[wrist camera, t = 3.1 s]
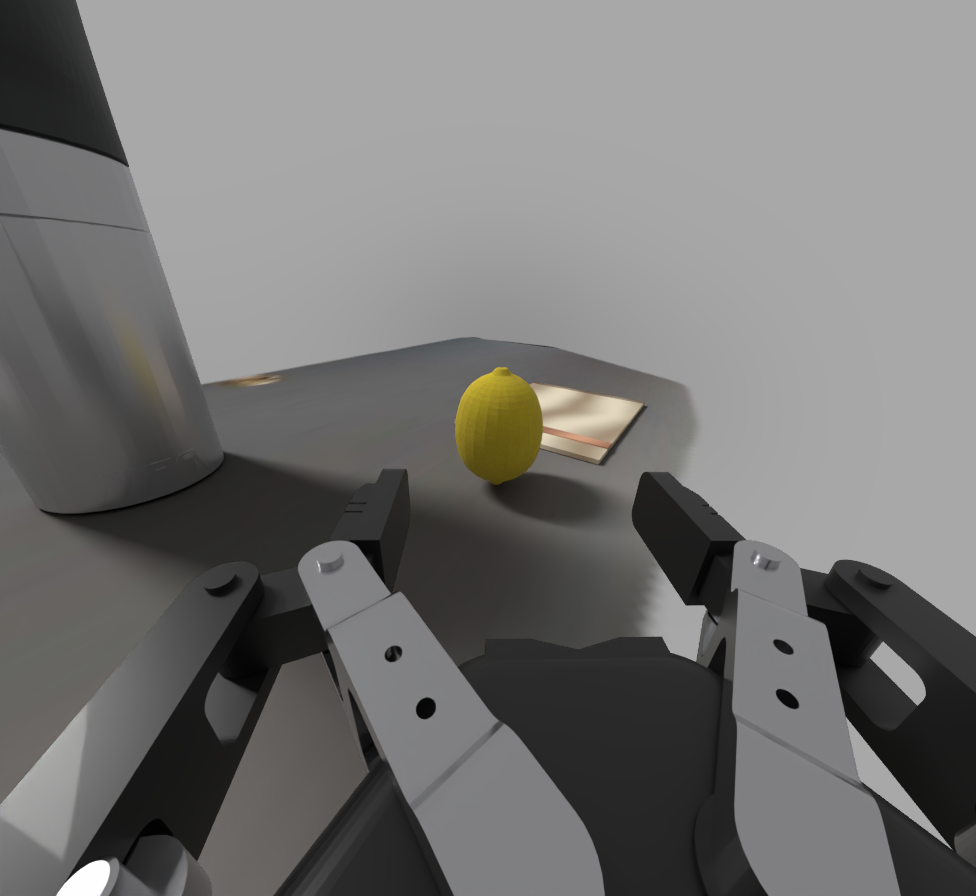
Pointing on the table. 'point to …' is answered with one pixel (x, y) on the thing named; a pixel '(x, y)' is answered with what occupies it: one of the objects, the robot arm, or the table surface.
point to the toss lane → (582, 421)
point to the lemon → (499, 426)
